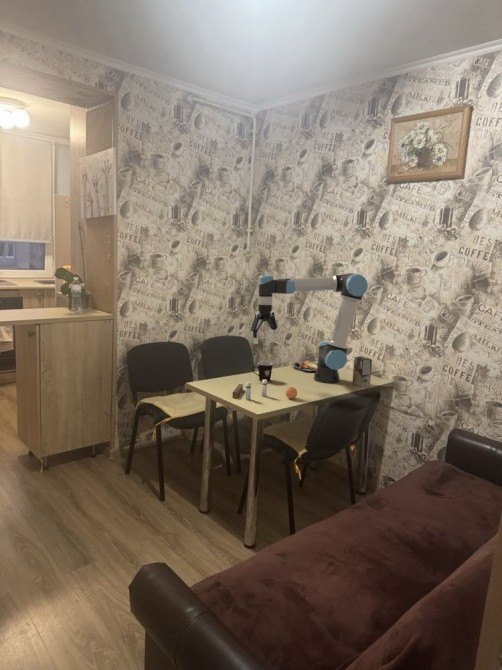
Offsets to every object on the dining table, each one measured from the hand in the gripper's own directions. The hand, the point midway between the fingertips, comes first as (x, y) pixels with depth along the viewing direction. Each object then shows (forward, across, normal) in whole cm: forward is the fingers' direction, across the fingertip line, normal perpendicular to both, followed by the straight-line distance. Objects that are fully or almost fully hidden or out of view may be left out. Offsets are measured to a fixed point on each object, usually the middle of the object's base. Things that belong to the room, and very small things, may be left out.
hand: (263, 342), depth 257 cm
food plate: (+25, -56, -6) cm, 61 cm away
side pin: (+24, +26, +13) cm, 38 cm away
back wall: (+24, +23, +2) cm, 33 cm away
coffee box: (+25, -44, +38) cm, 63 cm away
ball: (+22, +8, +26) cm, 35 cm away
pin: (+24, +16, +14) cm, 32 cm away
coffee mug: (+25, -8, -7) cm, 27 cm away
